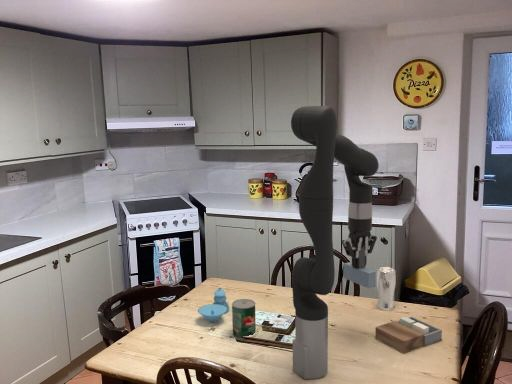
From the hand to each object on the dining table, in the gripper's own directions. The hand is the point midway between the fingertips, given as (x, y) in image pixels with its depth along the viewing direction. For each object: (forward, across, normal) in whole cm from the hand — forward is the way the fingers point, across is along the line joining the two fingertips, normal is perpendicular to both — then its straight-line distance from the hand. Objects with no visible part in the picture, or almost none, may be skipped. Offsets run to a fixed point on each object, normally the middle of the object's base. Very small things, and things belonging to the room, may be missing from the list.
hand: (359, 267), depth 155 cm
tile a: (+21, +13, -14) cm, 28 cm away
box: (+24, +16, -11) cm, 31 cm away
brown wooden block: (+24, +8, -11) cm, 27 cm away
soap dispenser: (+24, -34, +39) cm, 57 cm away
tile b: (+21, +13, -8) cm, 26 cm away
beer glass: (+24, +25, +12) cm, 37 cm away
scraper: (+5, 0, 0) cm, 5 cm away
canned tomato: (+24, -32, +21) cm, 45 cm away
